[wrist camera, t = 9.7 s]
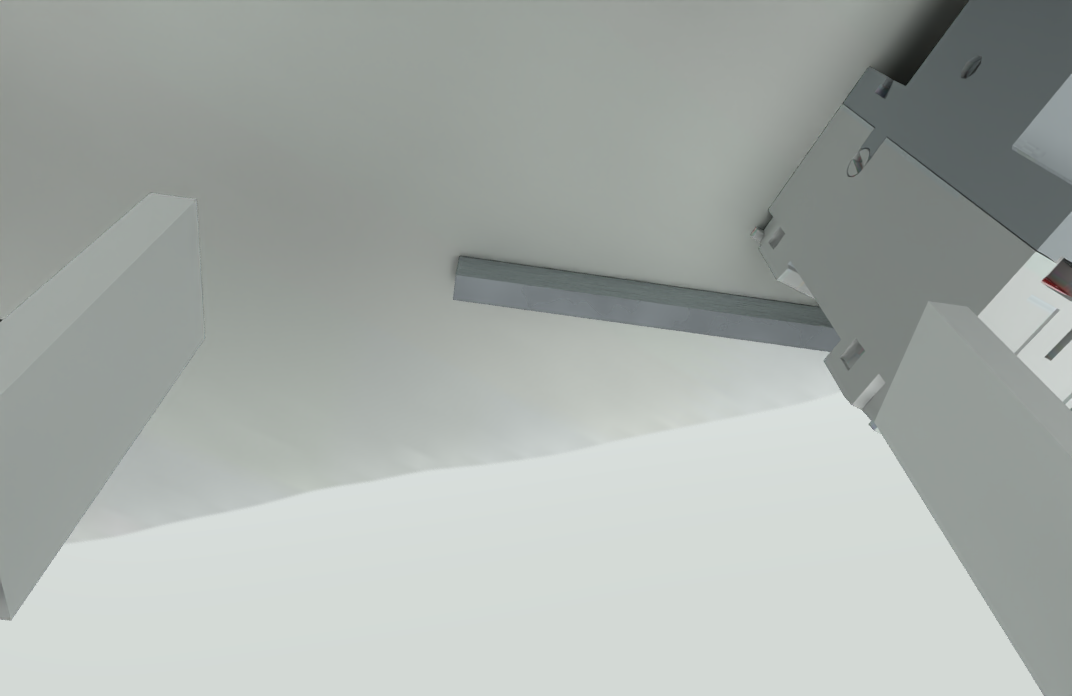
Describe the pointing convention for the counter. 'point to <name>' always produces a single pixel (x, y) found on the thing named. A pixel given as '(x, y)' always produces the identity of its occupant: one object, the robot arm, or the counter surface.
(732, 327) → the dark grey piece
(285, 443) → the counter surface
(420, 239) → the counter surface
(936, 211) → the circuit breaker
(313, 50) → the counter surface
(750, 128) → the counter surface
